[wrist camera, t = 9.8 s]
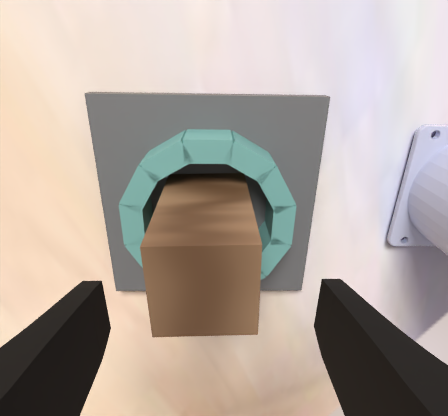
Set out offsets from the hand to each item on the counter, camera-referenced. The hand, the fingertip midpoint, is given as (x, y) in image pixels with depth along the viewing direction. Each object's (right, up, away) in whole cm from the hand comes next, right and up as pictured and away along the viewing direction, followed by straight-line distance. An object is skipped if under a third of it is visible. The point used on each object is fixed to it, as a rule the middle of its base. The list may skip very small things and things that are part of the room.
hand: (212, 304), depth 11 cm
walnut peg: (-1, +3, +9) cm, 10 cm away
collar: (-1, +4, +10) cm, 10 cm away
